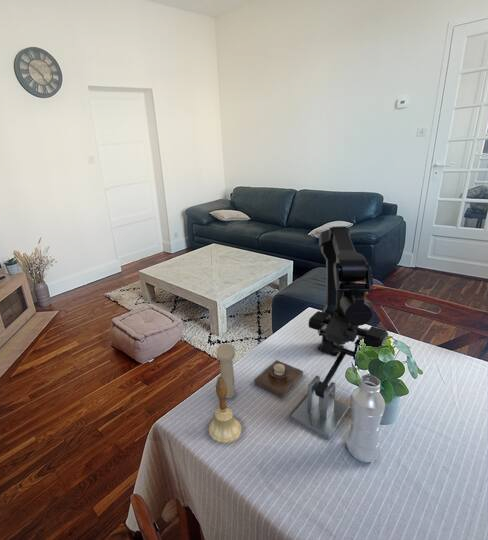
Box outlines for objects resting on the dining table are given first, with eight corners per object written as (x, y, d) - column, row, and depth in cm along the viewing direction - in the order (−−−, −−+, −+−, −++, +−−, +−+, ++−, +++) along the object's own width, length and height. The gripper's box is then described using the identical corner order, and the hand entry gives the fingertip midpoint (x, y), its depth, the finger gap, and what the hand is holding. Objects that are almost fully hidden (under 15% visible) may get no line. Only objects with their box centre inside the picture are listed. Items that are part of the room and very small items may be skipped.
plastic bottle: (365, 472, 71) (374, 396, 64) (339, 449, 76) (345, 377, 69) (385, 458, 73) (396, 384, 66) (358, 436, 79) (366, 366, 72)
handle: (237, 387, 98) (234, 343, 93) (236, 403, 92) (234, 357, 87) (220, 387, 99) (217, 343, 94) (219, 403, 93) (215, 357, 88)
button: (277, 367, 100) (277, 362, 100) (286, 371, 98) (286, 366, 98) (271, 372, 98) (271, 367, 98) (281, 377, 96) (281, 372, 96)
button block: (276, 364, 106) (276, 355, 105) (303, 376, 100) (303, 366, 99) (254, 385, 99) (254, 375, 97) (282, 398, 93) (282, 388, 91)
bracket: (312, 393, 94) (313, 364, 90) (349, 410, 87) (352, 379, 83) (290, 419, 86) (291, 388, 82) (329, 440, 79) (331, 407, 75)
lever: (336, 349, 94) (336, 343, 92) (355, 355, 90) (354, 349, 89) (310, 392, 85) (309, 386, 84) (329, 401, 82) (328, 395, 80)
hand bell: (232, 448, 79) (228, 394, 73) (202, 435, 83) (196, 382, 78) (247, 423, 85) (244, 372, 80) (218, 412, 90) (214, 362, 84)
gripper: (299, 307, 87) (298, 357, 93) (376, 330, 74) (370, 386, 80) (318, 291, 94) (316, 338, 100) (392, 309, 82) (385, 362, 87)
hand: (344, 355), depth 92 cm, fingers closed on lever, 5 cm apart
